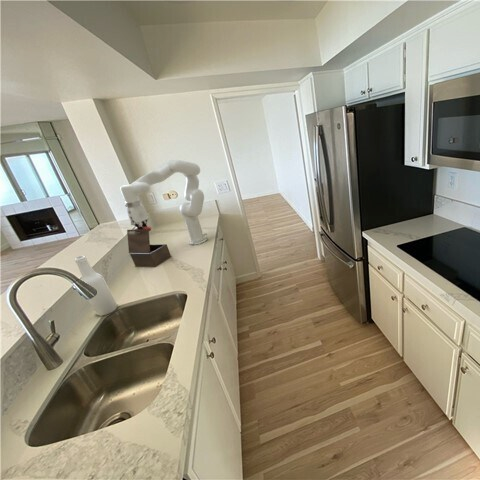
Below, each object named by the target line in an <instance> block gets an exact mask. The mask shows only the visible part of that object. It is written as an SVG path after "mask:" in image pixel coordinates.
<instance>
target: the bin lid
mask: <svg viewBox="0 0 480 480" xmlns="http://www.w3.org/2000/svg"><path fill="white" fill-rule="evenodd" d="M126 236H127V246H128V253H129V254H130V253H150V244H151V241H150V231H149V229H135V228H134V229H126Z"/></svg>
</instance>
